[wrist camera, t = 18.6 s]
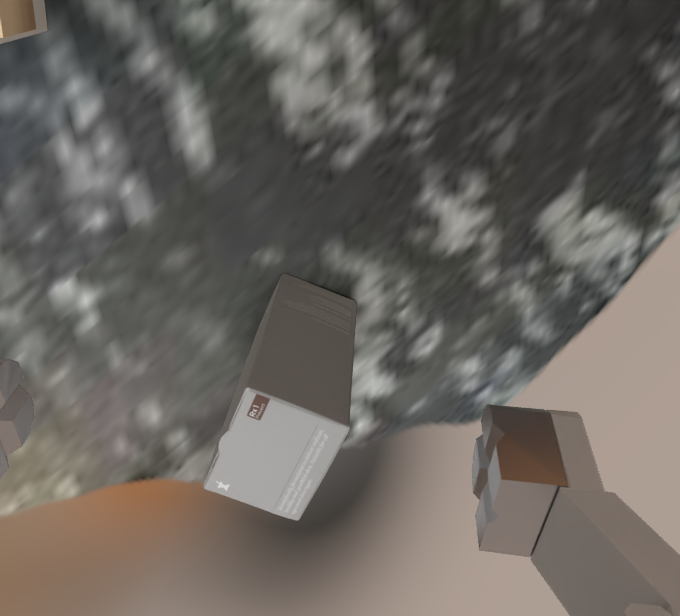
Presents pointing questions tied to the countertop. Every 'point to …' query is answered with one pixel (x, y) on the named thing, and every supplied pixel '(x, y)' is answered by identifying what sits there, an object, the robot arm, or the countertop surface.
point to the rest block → (39, 20)
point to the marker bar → (16, 17)
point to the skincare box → (289, 401)
